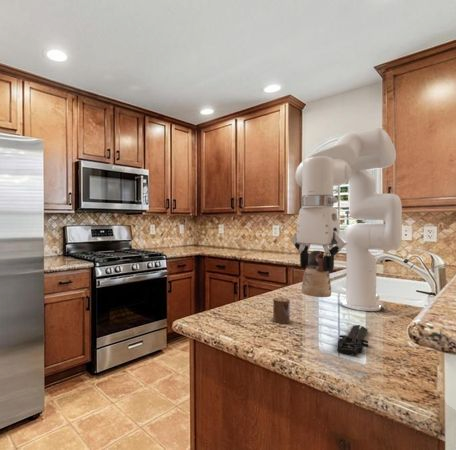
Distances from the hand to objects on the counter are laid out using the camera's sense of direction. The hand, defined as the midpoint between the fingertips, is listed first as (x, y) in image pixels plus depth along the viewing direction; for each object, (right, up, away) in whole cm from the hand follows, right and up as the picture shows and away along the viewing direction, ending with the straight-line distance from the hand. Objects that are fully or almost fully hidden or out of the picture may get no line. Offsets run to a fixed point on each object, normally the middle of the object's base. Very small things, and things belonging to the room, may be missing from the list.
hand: (316, 268), depth 85 cm
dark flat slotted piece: (+10, -20, 0) cm, 22 cm away
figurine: (0, -7, 0) cm, 7 cm away
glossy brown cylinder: (-3, -19, +16) cm, 25 cm away
